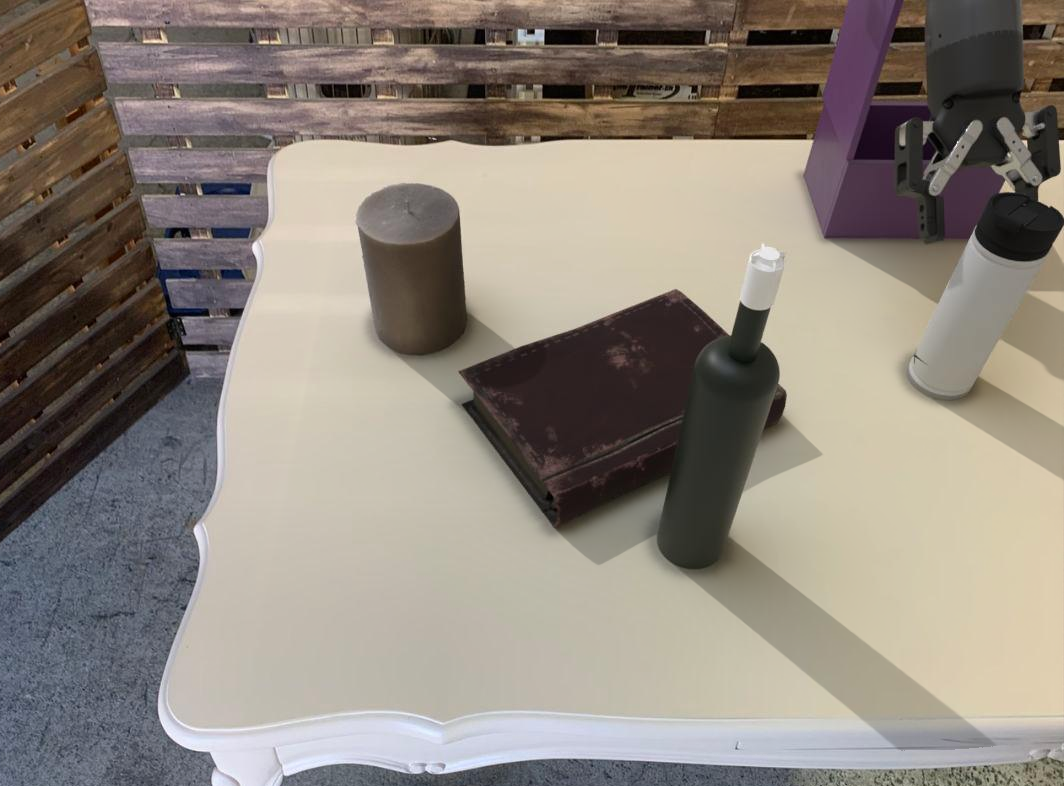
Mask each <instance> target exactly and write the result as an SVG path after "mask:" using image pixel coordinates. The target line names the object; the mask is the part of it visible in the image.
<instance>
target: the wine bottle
mask: <svg viewBox="0 0 1064 786" xmlns="http://www.w3.org/2000/svg"><path fill="white" fill-rule="evenodd" d="M786 253H787V250H784V251H779V250H778V249H776V248H775V247H771V246H766V245H765V244H764V242H762V243H761V246H760V249H756V250H754V251H753V252H751V254H750V255H749V258H748V262H747V266H746V269H745V274H744V278H743V281H742V285H741V290H740V293H739V303H738V307H737V311H736V315H735V320H734V323H733V327H732V331H731V333H730V334H731V335H730V334H729V336H724V337H721V338H718V339H716V340H714V341H712V342H710V343H709V344H708V345H706V346H705V347H704V348H703V350H702V351H701V352H700V354H699V355H698V357H697V359H696V362H695V365H694V370H693V375H692V379H691V384H690V388H689V393H688V397H687V402H686V406H685V411H684V415H683V420H682V424H681V429H680V434H679V438H678V443H677V447H676V452H675V456H674V461H673V465H672V470H671V473H670V474H669V475H670V476H669V479H668V482H667V483H668V484H667V489H666V493H665V498H664V501H663V506H662V512H661V516H660V520H659V525H658V529H657V533H656V544H657V547H658V550H659V551H660V553H661V555H662V556H663V557H664V559H666V560H667V561H668V562H670V563H671V564H673V565H674V566H677V567H680V568H682V569H688V570H701V569H702V570H703V569H706V568H708V567H710V566H712V565H714V564H715V563H717V561H719V559H721V556H722V555H723V552H724V549H725V548H726V547H725V546H726V545H727V540H728V538H729V535H730V531H731V528H732V525H733V523H734V519H735V516H736V513H737V510H738V507H739V505H740V501H741V498H742V495H743V493H744V489H745V486H746V483H747V480H748V477H749V474H750V471H751V467H752V466H753V462H754V459H755V455H756V453H757V450H758V446H759V443H760V441H761V439H762V435H763V431H764V430H765V429H764V426H765V423H766V420H767V417H768V414H769V410H770V407H771V404H772V401H773V398H774V395H775V392H776V389H777V386H778V384H780V378H781V377H780V376H781V370H780V365H779V361H778V359H777V357H776V355H775V354H774V352H773V351H772V350H771V349H770V347H768V346H767V345H766V344H765V343H763V342H762V341H763V340H762V339H763V336H764V332H765V329H766V326H767V322H768V319H769V315H770V313H771V308H772V307H773V306H774V303H775V300H776V298H777V294H778V290H779V287H780V283H781V280H782V277H783V273H784V270H785V266H786V264H787V263H786V258H785V257H786Z"/></svg>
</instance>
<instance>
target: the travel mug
mask: <svg viewBox="0 0 1064 786" xmlns="http://www.w3.org/2000/svg"><path fill="white" fill-rule="evenodd" d="M1030 197H1031V196H1028V195H1024V194H1021V193H1015V191H1014V192H1013V191H1012V192H1010V191H1003V192H999V193H998V194H995V195H993V196H992V197H991V198H990V199H989V201H988V203H987V205H986V207H985V209H984V211H983V214H982V216H981V218H980V220H979V222H978V224H977V225H976V226H975V229H974V231H973V233H972V235H971V237H970V239H968V242H967V243H966V245H965V246H964V247H965V248H964V249H963V252H962V253H961V255H960V257H959V260H958V262H957V263H956V266H955V268H954V270H953V272H952V274H951V277H950V278H949V281H948V282H947V285H946V287H945V288H944V291H943V293H942V295H941V297H940V299H939V301H938V302H937V305H936V308H935V309H934V312H933V313H932V315H931V318H930V320H929V322H928V324H927V326H926V328H925V330H924V332H923V334H922V337H921V339H920V341H919V343H918V345H917V346H916V349H915V351H914V352H913V355H912V357H911V360H909V363H908V366H907V367H906V377H907V380H908V381H909V383H910V385H911V386H912V387H913V388H914V389H915V390H917V391H918V392H919V393H921V394H922V395H924V396H926V397H930V398H932V399H935V400H939V401H956V400H959V399H962V398H964V397H965V396H967V395H968V394H969V392H970V391H971V389H972V388H973V385H974V384H975V382H976V380H977V379H978V377H979V375H980V374H981V372H982V370H983V368H984V367H985V365H986V363H987V361H988V360H989V358H990V357H991V354H992V353H993V351H994V350H995V348H996V346H997V344H998V343H999V341H1000V339H1001V337H1002V335H1003V334H1004V332H1005V330H1006V328H1007V327H1008V325H1009V324H1010V321H1011V320H1012V318H1013V317H1014V315H1015V313H1016V311H1017V309H1018V308H1019V306H1020V304H1021V303H1022V301H1023V299H1024V297H1025V295H1026V294H1027V292H1028V290H1029V289H1030V286H1032V283H1033V281H1034V280H1035V278H1036V276H1037V275H1038V273H1039V271H1040V269H1041V268H1042V265H1043V264H1044V262H1045V260H1046V258H1047V257H1048V255H1049V254H1050V251H1051V248H1053V244H1054V243H1055V242H1056V240H1057V239H1058V237H1059V235H1060V233H1061V231H1062V230H1063V228H1064V216H1063V214H1062V213H1061V212H1060V210H1058V209H1057V208H1055V207H1054V206H1053V205H1050V206H1048V205H1047V204H1046V203H1045V204H1044V203H1043V202H1041V201H1039V200H1038V201H1036V200H1033V199H1030Z"/></svg>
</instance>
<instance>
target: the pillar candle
mask: <svg viewBox="0 0 1064 786" xmlns="http://www.w3.org/2000/svg"><path fill="white" fill-rule="evenodd" d="M460 212H461V211H460V207H459V204H458V202H457V201H456V198H455V197H454V196H452V194H450V193H449V192H448V191H445V190H444V189H443V188H440V187H437V186H435V185H430V184H424V183H418V182H417V183H416V182H415V183H413V182H412V183H410V182H401V183H397V184H391V185H387V186H385V187H383V188H381V189H380V190H377V191H374V192H372V193H371V194H370V195H368V196H366V197H365V198H364V200H363V201H362V202H361V204H360V205H359V206H358V208H357V211H356V213H355V217H356V218H355V224H356V226H357V230H358V238H359V242H360V248H361V253H362V256H361V258H362V262H363V269H364V273H365V278H366V284H367V291H368V296H369V297H368V298H369V302H370V309H371V315H372V323H373V327H374V331H375V334H376V336H377V337H378V340H379V341H380V342H381V343H382V344H384V346H386V347H387V348H389V349H391V350H393V351H395V352H397V353H398V354H403V355H408V356H426V355H430V354H435V353H438V352H441V351H443V350H445V349H447V348H449V347H450V346H452V345H453V344H455V343H456V342H457V341H458V340H460V339H461V336H462V335H463V334H464V333H465V331H466V326H467V322H468V313H467V304H466V303H467V302H466V300H467V298H466V286H465V283H466V282H465V276H464V275H465V272H464V260H463V258H464V257H463V244H462V243H463V242H462V227H461V226H462V225H461V213H460Z"/></svg>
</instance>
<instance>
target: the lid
mask: <svg viewBox="0 0 1064 786" xmlns="http://www.w3.org/2000/svg"><path fill="white" fill-rule="evenodd" d="M904 1H905V0H848V1H847V4H846V8H845V12H844V15H843V18H842V23H841V26H840V30H839V34H838V38H837V42H836V45H835V49H834V53H833V56H832V59H831V64H830V67H829V71H828V74H827V79H826V82H825V85H824V89H823V92H822V97H821V98H822V100H823V104H824V103H825V105H826V108H827V111H828V113H829V116H830V118H831V121H832V124H833V126H834V129H835V132H836V134H837V137H838V139H839V142H840V145H841V147H842V150H843V152H844V155H845V158H846V159H854V156H855V152H856V149H857V146H858V143H859V140H860V137H861V133H862V130H863V127H864V124H865V121H866V118H867V115H868V111H869V108H870V105H871V102H873V99H874V95H875V92H876V89H877V87H878V84H879V80H880V77H881V73H882V70H883V67H884V64H885V61H886V57H887V55H888V51H889V48H890V45H891V42H892V39H893V36H894V34H895V33H894V32H895V29H896V26H897V23H898V20H899V16H900V13H901V10H902V7H903V4H904Z"/></svg>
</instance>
